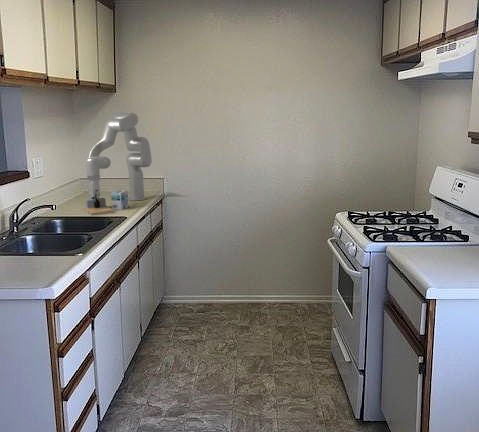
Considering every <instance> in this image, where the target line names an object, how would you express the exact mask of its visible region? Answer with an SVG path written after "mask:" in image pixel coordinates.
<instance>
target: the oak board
mask: <svg viewBox="0 0 479 432" xmlns="http://www.w3.org/2000/svg"><path fill="white" fill-rule="evenodd" d="M82 210H83V211H84V212H86V213H87V214H88V215H90V216H95V215H96V216H97V215H98V216H99V215H105V214H106V215H107V214H115V212H116V210H113V209H112V207H110V206H108V205H106V207H103V208H92V209H87V208H86V206H84V207H83V206H82Z"/></svg>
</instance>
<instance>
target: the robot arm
mask: <svg viewBox="0 0 479 432" xmlns="http://www.w3.org/2000/svg"><path fill="white" fill-rule="evenodd" d="M138 122H139V116H138V115H137V114H136V113H133V112H118V113H115V114H114V115H113V117H112V118H109V119H107V120H106V122H105V125H104V128H103V130H102V134H101V138H100V140H99V141H97V143H95V145H94V146H93V147H92V148H91V150H90V152H89V155H88V157H87V158H86V160H85V163H86V164H85V165H86V177H87V178H86V179H87V182H88V195H89V196H90V197H91V198H90V199H94V200H95V202H94V206H95V208H100V200H99V198H100V196H101V189H100V188H101V187H100V181H101V173H100V169H101V170H102V169H103V170H104V169H105V170H106V169H108V168H110V167H111V164H112V162H111V159H110V158H109V157H107V156H100V155H101V153H102V152H104V151H106V150H107V149H109V148H111V147H112V146H114V144H115V142H116V138H117V134H118V133H123V135H124V136H123V137H124V142H125V147H126V150H127V151H129V152H131V153H129V154H127V156H126V159H125V161H126V164H127V168H128V182H129V183H128V184H129V194H130V195H129V196H128V201H134V202H135V201H145V200H147V199H148V198H147V196H145V186H144V185H145V183H144V172H143V170H142V168H149V167H150V166H151V165H152V153H151V147H150V142H149V140H148V139H147V138H146V137H143V136H138V133H137V132H138V131H137V128H136V126H137V125H138V124H139V123H138Z"/></svg>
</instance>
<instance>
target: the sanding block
mask: <svg viewBox="0 0 479 432" xmlns="http://www.w3.org/2000/svg"><path fill="white" fill-rule="evenodd" d="M99 200H100V208H103V207H106V206H107V202H106V201H107V199H106V198H104V197H101V198H100V197H99ZM94 202H95V200H94V199H91V198H86V199H85V207H86V208H87V209H92V208H95V206H94Z"/></svg>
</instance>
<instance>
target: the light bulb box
mask: <svg viewBox="0 0 479 432" xmlns="http://www.w3.org/2000/svg"><path fill="white" fill-rule="evenodd" d="M110 196H111V197H110V198H111V209H113V210H115V211H116V210H117V211H123V210H126V209H127V208H129V200H128V198H129V193H128V190H118V189H117V190H115V191H112V192H110Z"/></svg>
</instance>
